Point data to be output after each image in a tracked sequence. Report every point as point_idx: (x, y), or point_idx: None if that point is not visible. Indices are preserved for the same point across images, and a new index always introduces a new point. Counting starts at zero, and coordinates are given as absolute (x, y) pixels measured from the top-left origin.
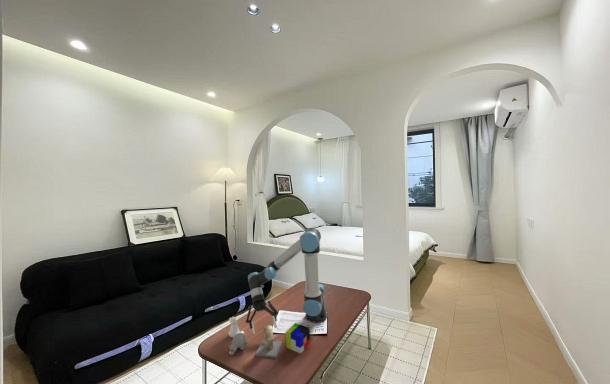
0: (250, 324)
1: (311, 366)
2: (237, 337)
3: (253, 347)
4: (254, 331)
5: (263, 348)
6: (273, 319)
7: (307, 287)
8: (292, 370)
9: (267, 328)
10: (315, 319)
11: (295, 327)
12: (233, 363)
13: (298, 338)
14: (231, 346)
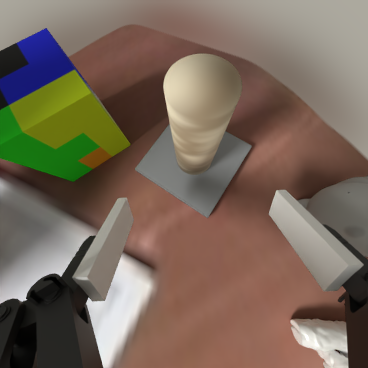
0: (351, 250)
1: (100, 48)
2: None
3: (251, 198)
4: (283, 195)
5: (216, 160)
6: (107, 254)
7: None
8: (153, 53)
9: (210, 75)
10: None
11: (18, 105)
12: (329, 143)
13: (62, 50)
14: None
